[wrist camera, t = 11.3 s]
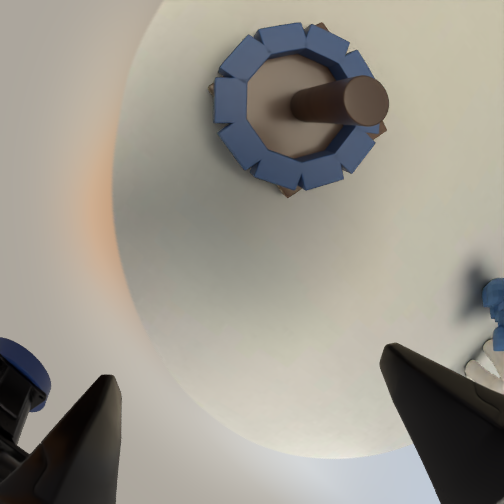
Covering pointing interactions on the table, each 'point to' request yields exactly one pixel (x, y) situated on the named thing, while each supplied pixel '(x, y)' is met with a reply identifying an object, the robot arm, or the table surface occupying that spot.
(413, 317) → the table surface
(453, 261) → the table surface
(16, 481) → the robot arm
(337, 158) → the ring
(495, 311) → the grapes
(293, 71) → the post
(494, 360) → the toy creature
